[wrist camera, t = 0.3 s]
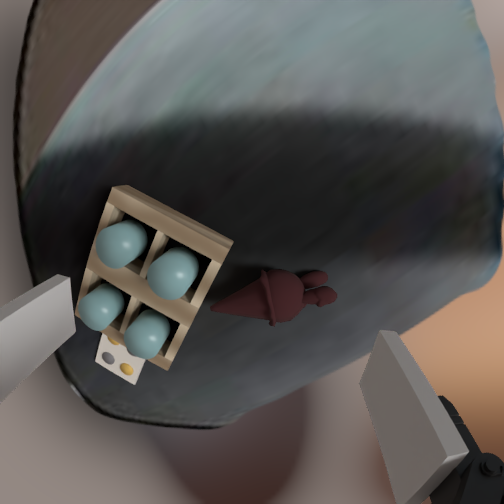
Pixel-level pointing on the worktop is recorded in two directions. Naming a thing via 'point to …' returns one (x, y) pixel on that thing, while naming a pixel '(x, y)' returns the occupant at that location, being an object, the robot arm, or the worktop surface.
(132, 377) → the card
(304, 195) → the worktop surface
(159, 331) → the teal blunt tapered piece
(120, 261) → the teal rounded lump
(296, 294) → the icecream
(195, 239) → the wooden compartment tray
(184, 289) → the teal blunt egg shape
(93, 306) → the teal domed cylinder
